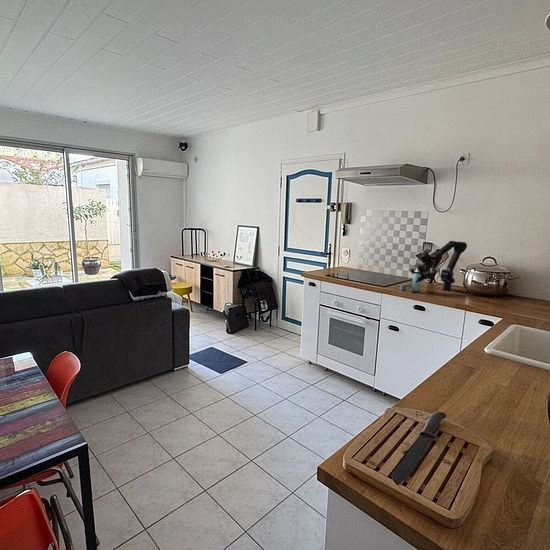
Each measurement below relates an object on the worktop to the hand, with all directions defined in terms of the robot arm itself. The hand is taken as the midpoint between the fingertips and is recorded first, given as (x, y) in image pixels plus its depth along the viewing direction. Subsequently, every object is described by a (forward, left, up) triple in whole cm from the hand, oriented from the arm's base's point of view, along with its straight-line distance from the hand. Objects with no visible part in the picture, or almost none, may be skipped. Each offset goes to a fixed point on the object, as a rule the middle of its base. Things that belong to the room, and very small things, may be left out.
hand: (414, 281), depth 263 cm
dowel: (-1, +1, -7) cm, 7 cm away
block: (-2, 0, -8) cm, 8 cm away
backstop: (-6, -6, -8) cm, 12 cm away
